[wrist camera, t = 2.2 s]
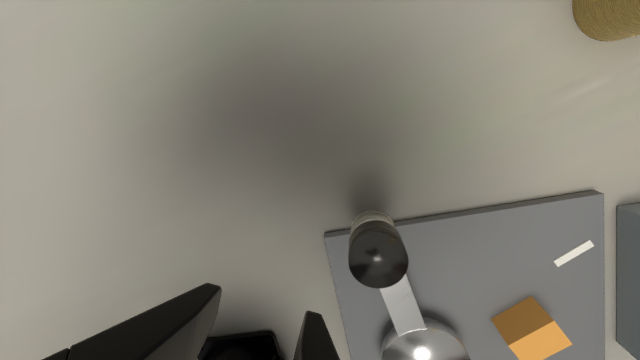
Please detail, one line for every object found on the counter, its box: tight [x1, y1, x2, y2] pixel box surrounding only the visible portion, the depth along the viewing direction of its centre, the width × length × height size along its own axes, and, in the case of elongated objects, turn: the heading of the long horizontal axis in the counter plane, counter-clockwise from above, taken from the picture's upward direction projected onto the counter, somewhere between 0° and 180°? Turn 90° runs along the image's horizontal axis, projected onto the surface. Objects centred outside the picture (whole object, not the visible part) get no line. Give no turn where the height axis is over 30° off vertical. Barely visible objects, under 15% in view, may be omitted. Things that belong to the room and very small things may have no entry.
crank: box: [348, 210, 470, 360], centre depth 18 cm, size 14×6×5 cm, turn 22°
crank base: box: [324, 190, 605, 360], centre depth 21 cm, size 17×16×3 cm
